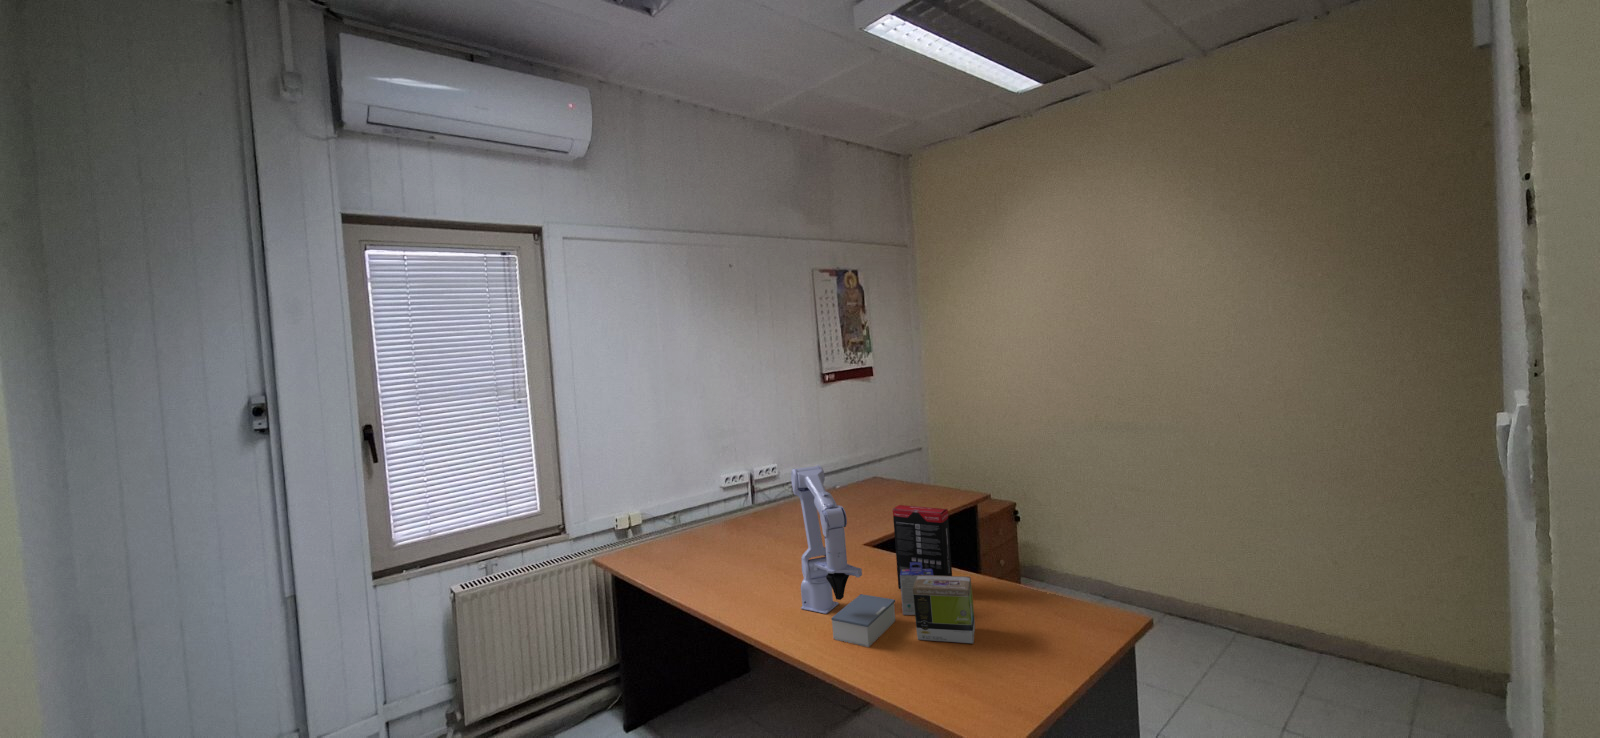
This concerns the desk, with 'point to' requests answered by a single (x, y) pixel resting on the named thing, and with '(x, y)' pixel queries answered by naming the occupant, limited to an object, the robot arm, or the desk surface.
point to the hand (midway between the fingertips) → (839, 598)
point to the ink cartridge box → (910, 586)
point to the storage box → (864, 629)
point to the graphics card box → (922, 539)
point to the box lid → (863, 610)
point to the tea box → (944, 608)
